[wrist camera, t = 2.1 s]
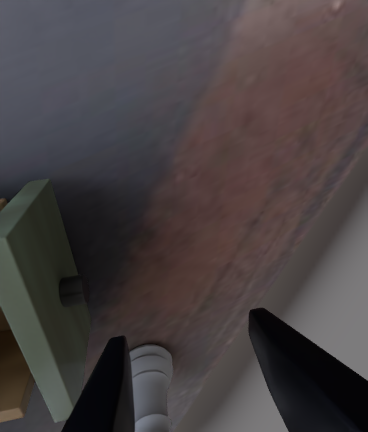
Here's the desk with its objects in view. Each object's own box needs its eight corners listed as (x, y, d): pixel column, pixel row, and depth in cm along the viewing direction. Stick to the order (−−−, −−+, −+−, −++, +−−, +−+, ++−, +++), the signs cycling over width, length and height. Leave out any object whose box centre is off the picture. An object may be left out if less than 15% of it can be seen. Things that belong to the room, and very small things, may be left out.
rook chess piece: (181, 355, 26) (203, 458, 19) (147, 383, 27) (155, 493, 20) (146, 333, 24) (155, 439, 17) (109, 364, 25) (103, 479, 18)
